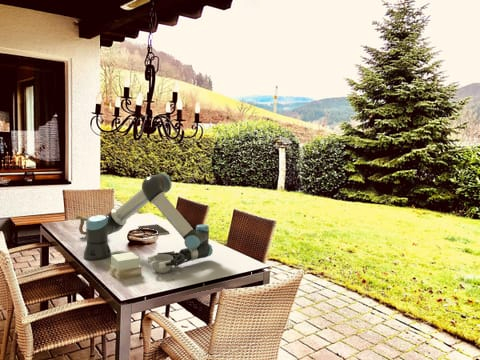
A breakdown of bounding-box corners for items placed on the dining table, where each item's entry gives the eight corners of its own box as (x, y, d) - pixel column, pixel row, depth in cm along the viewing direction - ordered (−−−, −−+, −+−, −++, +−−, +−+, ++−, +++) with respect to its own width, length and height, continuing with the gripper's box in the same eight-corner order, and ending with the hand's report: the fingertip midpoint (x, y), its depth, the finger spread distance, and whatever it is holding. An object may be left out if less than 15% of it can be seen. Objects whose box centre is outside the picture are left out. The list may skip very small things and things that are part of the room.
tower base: (109, 274, 203) (109, 264, 202) (130, 269, 211) (130, 260, 210) (119, 281, 194) (119, 271, 194) (141, 275, 202) (141, 266, 202)
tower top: (111, 264, 203) (111, 255, 203) (131, 260, 210) (131, 251, 209) (118, 270, 194) (118, 261, 194) (139, 267, 201) (139, 257, 200)
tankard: (108, 235, 271) (108, 214, 269) (100, 240, 259) (100, 219, 257) (81, 234, 273) (81, 213, 271) (71, 238, 260) (71, 217, 258)
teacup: (164, 266, 216) (164, 252, 215) (177, 271, 210) (177, 256, 209) (143, 272, 206) (143, 258, 204) (156, 278, 199) (156, 263, 198)
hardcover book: (147, 236, 274) (147, 233, 274) (137, 229, 293) (137, 226, 293) (169, 234, 282) (169, 231, 282) (158, 227, 302) (158, 224, 301)
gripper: (200, 266, 211) (165, 276, 196) (176, 255, 228) (142, 263, 213) (200, 253, 210) (165, 261, 195) (176, 243, 227) (143, 250, 212)
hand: (153, 262), depth 204 cm, fingers closed on teacup, 11 cm apart
